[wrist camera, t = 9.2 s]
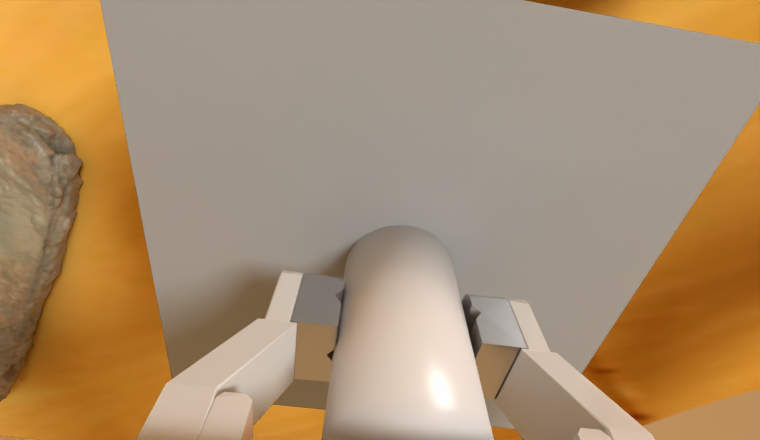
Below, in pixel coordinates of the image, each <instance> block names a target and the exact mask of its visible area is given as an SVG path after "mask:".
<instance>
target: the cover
mask: <svg viewBox="0 0 760 440" xmlns="http://www.w3.org/2000/svg"><path fill="white" fill-rule="evenodd" d="M100 3H101V8H102V13H103V18H104V24H105V29H106V34H107V39H108V45H109V50H110V55H111V60H112V66H113V71H114V76H115V81H116V87H117V92H118V97H119V102H120V108H121V113H122V118H123V123H124V129H125V134H126V139H127V144H128V150H129V155H130V160H131V166H132V171H133V176H134V181H135V187H136V192H137V197H138V202H139V208H140V213H141V218H142V223H143V229H144V234H145V239H146V244H147V250H148V255H149V260H150V265H151V271H152V276H153V281H154V286H155V292H156V297H157V302H158V307H159V313H160V318H161V323H162V328H163V334H164V339H165V344H166V349H167V355H168V360H169V365H170V370H171V376H172V379H173V378H175V377H176V376H177V375H179V374H180V373H182V372H183V371H184V370H186V369H187V368H189V367H190V366H191V365H193V364H194V363H196V362H197V361H198V360H200V359H201V358H203V357H204V356H206V355H207V354H208V353H210V352H211V351H213V350H214V349H215V348H217V347H218V346H220V345H221V344H222V343H224V342H225V341H227V340H228V339H229V338H231V337H232V336H234V335H235V334H237V333H238V332H239V331H241V330H242V329H244V328H245V327H246V326H248V325H249V324H251V323H252V322H253V321H255V320H256V319H258V318H260V319H265V316H266V313H267V310H268V307H269V304H270V302H271V299H272V296H273V293H274V290H275V287H276V285H277V282H278V279H279V276H280V274H281V272H282V271H283V270H287V271H294V272H301V273H310V274H317V275H323V276H330V277H337V278H344V286H343V294H342V302H341V309H340V317H339V324H338V332H337V339H336V346H335V349H334V352H333V359H332V366H331V374H330V381H329V382H328V381H315V380H302V379H294V380H293V382H292V383H291V384H290V385H289V387H288V388H287V389H286V390H285V391H284V392H283V393H282V394H281V395H280V397H279V398H278V399H277V400H276V401H275V402H274V403H273V404H274V405H284V406H294V407H304V408H314V409H323V410H325V418H324V425H323V433H322V440H494V438H493V434H492V430H491V427H501V428H511V429H515V428H514V427H513V425H512V424H511V423H510V421H509V420H508V419H507V417H506V416H505V415H504V413H503V412H502V411H501V409H500V408H499V407H498V405H497V404H496V403H495V400H491V399H484V396H483V391H482V387H481V383H480V379H479V374H478V370H477V366H476V361H475V357H474V353H473V349H472V344H471V340H470V336H469V332H468V327H467V323H466V319H465V315H464V310H463V306H462V299H463V297H464V296H465V295H466V294H472V295H481V296H489V297H498V298H504V299H505V298H511V299H520V300H526V301H527V302H528V303H529V305H530V307H531V310H532V312H533V314H534V316H535V318H536V321H537V323H538V325H539V327H540V330H541V332H542V334H543V336H544V338H545V341H546V343H547V345H548V347H549V349H550V352H555V353H558V354H559V355H560V356H561V357H562V358H563V359H565V360H566V361H567V362H568V363H569V364H570V365H572V366H573V367H574V368H575V369H576V370H577V371H579V372H580V373H581V374H582V372H583V371H584V369H585V368H586V366H587V365H588V363H589V362H590V360H591V359H592V357H593V356H594V354H595V353H596V351H597V350H598V348H599V347H600V345H601V344H602V342H603V340H604V339H605V337H606V336H607V334H608V333H609V331H610V330H611V328H612V327H613V325H614V324H615V322H616V321H617V319H618V318H619V316H620V315H621V313H622V312H623V310H624V309H625V307H626V306H627V304H628V303H629V301H630V299H631V298H632V296H633V295H634V293H635V292H636V290H637V289H638V287H639V286H640V284H641V283H642V281H643V280H644V278H645V277H646V275H647V274H648V272H649V271H650V269H651V268H652V266H653V265H654V263H655V261H656V260H657V258H658V257H659V255H660V254H661V252H662V251H663V249H664V248H665V246H666V245H667V243H668V242H669V240H670V239H671V237H672V236H673V234H674V233H675V231H676V230H677V228H678V227H679V225H680V224H681V222H682V220H683V219H684V217H685V216H686V214H687V213H688V211H689V210H690V208H691V207H692V205H693V204H694V202H695V201H696V199H697V198H698V196H699V195H700V193H701V192H702V190H703V189H704V187H705V186H706V184H707V183H708V181H709V179H710V178H711V176H712V175H713V173H714V172H715V170H716V169H717V167H718V166H719V164H720V163H721V161H722V160H723V158H724V157H725V155H726V154H727V152H728V151H729V149H730V148H731V146H732V145H733V143H734V141H735V140H736V138H737V137H738V135H739V134H740V132H741V131H742V129H743V128H744V126H745V125H746V123H747V122H748V120H749V119H750V117H751V116H752V114H753V113H754V111H755V110H756V108H757V107H758V105H759V104H760V44H759V43H754V42H748V41H743V40H737V39H732V38H726V37H721V36H716V35H710V34H705V33H699V32H694V31H688V30H683V29H678V28H672V27H667V26H661V25H656V24H650V23H645V22H639V21H634V20H629V19H623V18H618V17H612V16H607V15H601V14H596V13H591V12H585V11H580V10H574V9H569V8H563V7H558V6H552V5H547V4H542V3H536V2H531V1H525V0H100Z"/></svg>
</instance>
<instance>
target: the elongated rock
mask: <svg viewBox="0 0 760 440" xmlns="http://www.w3.org/2000/svg"><path fill="white" fill-rule="evenodd" d="M82 164H83V161H82V160H81V159H80V158H79V157H78V156H76V154H75V147H74V143H73V142H72V141H71V138H70V137H69V136H68V135H67V134H66V133H65V132H64V130H63V129H62V128H61V127H59V126H58V125H57V124H56V123H55V122H54V121H53V120H51V118H50V117H47V116H45V115H44V114H42V113H40V112H39V111H37V110H35V109H33V108H30V107H28V106H26V105H23V104H15V105H0V402H1V401H2V400H3V399H5V398H6V397H7V395H8V394H9V393H10V389H11V388H12V386H13V383H14V382H15V380H17V379H18V377H19V372H20V371H21V368H22V367H23V366H25V364H26V363H25V362H24V359H25V357H26V355H27V351H28V350H29V348H32V347H34V346H33V344H32V338H33V336H34V333H33V332H34V330H35V328H36V327H37V321H38V320H39V317H40V315H41V309H42V307H43V306H42V304H43V302H44V300H45V299H46V298H47V296H48V294H49V293H50V291H51V289H52V285H51V283H52V282H53V280H54V279H55V278H56V277H57V276H58V275H59V274H60V273H61V262H62V260H63V255H64V253H65V251H66V248H65V246H66V241H67V236H68V233H69V231H70V228H71V226H72V224H73V221H74V219H75V215H76V214H77V212H76V211H75V208H76V205H77V202H78V198H79V195H78V191H79V189H80V186H81V185H82V183H83V181H82V180H81V177H80V176H79V174H78V171H79V168H80V166H81V165H82Z"/></svg>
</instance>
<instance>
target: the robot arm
mask: <svg viewBox="0 0 760 440" xmlns="http://www.w3.org/2000/svg"><path fill="white" fill-rule="evenodd" d="M343 286H344V278H337V277H330V276H323V275H317V274H310V273H301V272H294V271H287V270H283V271H282V272H281V274H280V276H279V279H278V282H277V285H276V287H275V290H274V293H273V296H272V299H271V302H270V304H269V307H268V310H267V313H266V316H265V319H260V318H258V319H256V320H255V321H253V322H252V323H251V324H249V325H248V326H246V327H245V328H244V329H242V330H241V331H239V332H238V333H237V334H235V335H234V336H232V337H231V338H229V339H228V340H227V341H225V342H224V343H222V344H221V345H220V346H218V347H217V348H215V349H214V350H213V351H211V352H210V353H208V354H207V355H206V356H204V357H203V358H201V359H200V360H198V361H197V362H196V363H194V364H193V365H191V366H190V367H189V368H187V369H186V370H184V371H183V372H182V373H180V374H179V375H177V376H176V377H175V378H173V379H172V380H170V381H169V382H167V383H166V385H165V386H164V388H163V390H162V392H161V394H160V396H159V398H158V399H157V401H156V403H155V405H154V407H153V409H152V410H151V412H150V414H149V416H148V418H147V420H146V422H145V423H144V425H143V427H142V429H141V431H140V433H139V434H138V436H137V438H136V440H253V425H254V424H255V423H256V422H257V421H258V420H259V419H260V418H261V417H262V415H263V414H264V413H265V412H266V411H267V410H268V409H269V408H270V407H271V405H272V404H273V403H274V402H275V401H276V400H277V399H278V398H279V397H280V395H281V394H282V393H283V392H284V391H285V390H286V389H287V388H288V387H289V385H290V384H291V383H292V382H293V380H294V379H302V380H315V381H328V382H329V381H330V374H331V366H332V359H333V352H334V349H335V346H336V339H337V332H338V324H339V317H340V309H341V302H342V294H343ZM462 306H463V310H464V315H465V319H466V323H467V327H468V332H469V336H470V340H471V344H472V349H473V353H474V357H475V361H476V366H477V370H478V374H479V379H480V383H481V387H482V391H483V396H484V399H491V400H495V403H496V404H497V405H498V407H499V408H500V409H501V411H502V412H503V413H504V415H505V416H506V417H507V419H508V420H509V421H510V423H511V424H512V425H513V427H514V428H515V429H516V431H517V432H518V433H519V435H520V436H521V437H522V439H523V440H655V439H654V437H653V436H652V434H651V433H650V432H649V431H648V430H646V429H645V428H644V427H643V426H642V425H641V424H639V423H638V422H637V421H636V420H635V419H634V418H632V417H631V416H630V415H629V414H628V413H627V412H625V411H624V410H623V409H622V408H621V407H620V406H618V405H617V404H616V403H615V402H614V401H613V400H611V399H610V398H609V397H608V396H607V395H606V394H604V393H603V392H602V391H601V390H600V389H598V388H597V387H596V386H595V385H594V384H593V383H591V382H590V381H589V380H588V379H587V378H586V377H584V376H583V375H582V374H581V373H580V372H579V371H577V370H576V369H575V368H574V367H573V366H572V365H570V364H569V363H568V362H567V361H566V360H565V359H563V358H562V357H561V356H560V355H559V354H558V353H555V352H550V349H549V347H548V345H547V343H546V341H545V338H544V336H543V334H542V332H541V330H540V327H539V325H538V323H537V321H536V318H535V316H534V314H533V312H532V310H531V307H530V305H529V303H528V302H527V301H526V300H520V299H511V298H505V299H504V298H498V297H489V296H481V295H472V294H466V295H465V296H464V297H463V299H462ZM0 440H39V439H28V438H17V437H6V436H0Z"/></svg>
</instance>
